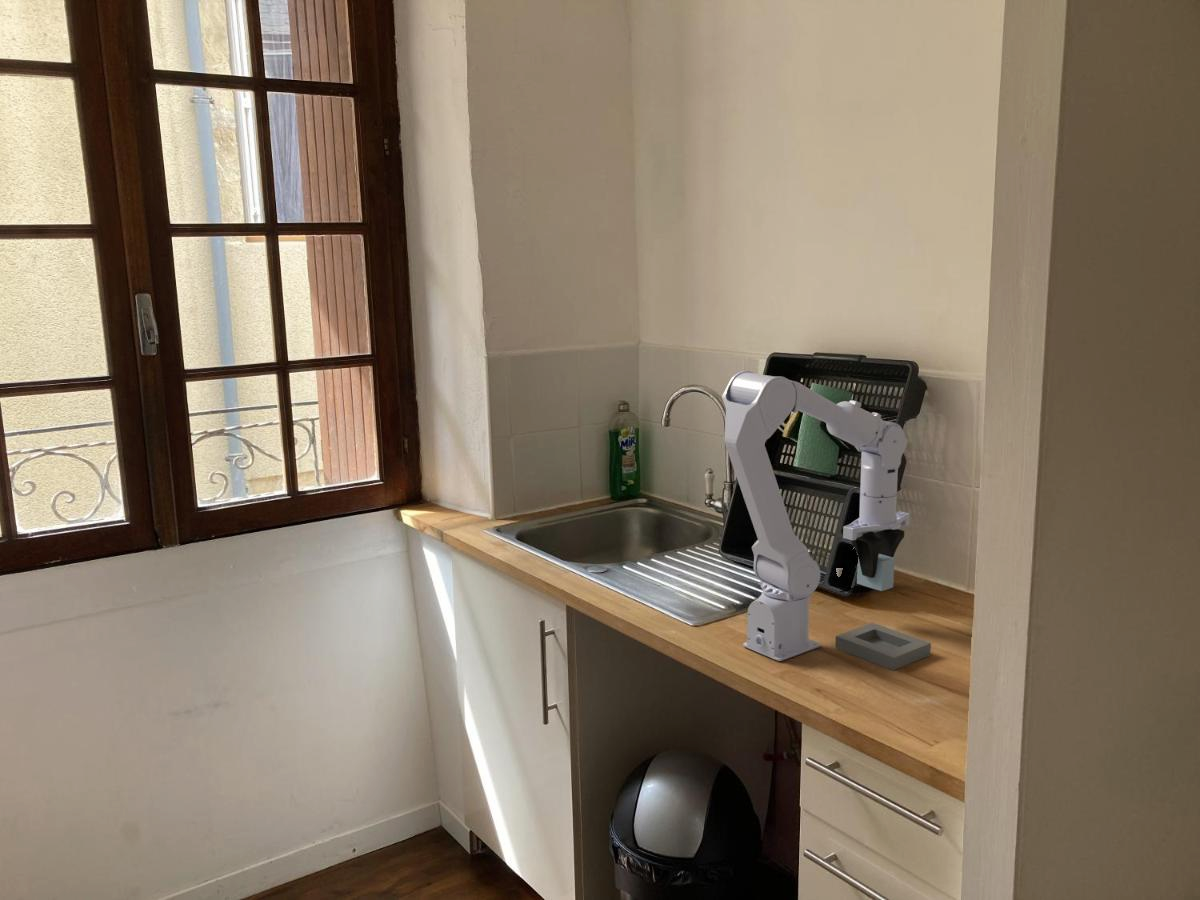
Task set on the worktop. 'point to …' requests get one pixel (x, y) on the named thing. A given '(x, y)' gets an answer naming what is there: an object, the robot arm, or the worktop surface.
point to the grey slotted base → (883, 646)
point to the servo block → (879, 574)
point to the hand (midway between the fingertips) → (875, 573)
